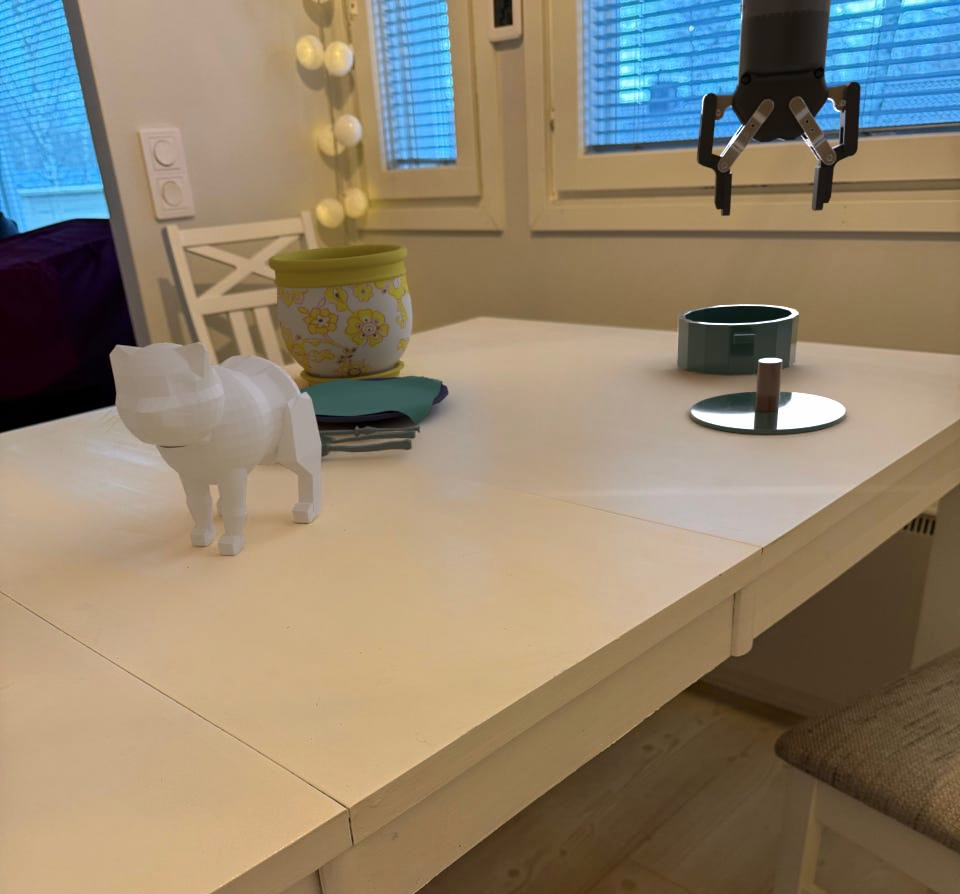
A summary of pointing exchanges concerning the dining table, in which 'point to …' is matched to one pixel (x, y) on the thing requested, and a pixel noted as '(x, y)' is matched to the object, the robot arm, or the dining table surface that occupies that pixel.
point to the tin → (735, 338)
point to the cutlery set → (373, 408)
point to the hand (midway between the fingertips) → (771, 212)
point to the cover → (768, 407)
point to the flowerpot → (344, 310)
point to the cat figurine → (219, 428)
